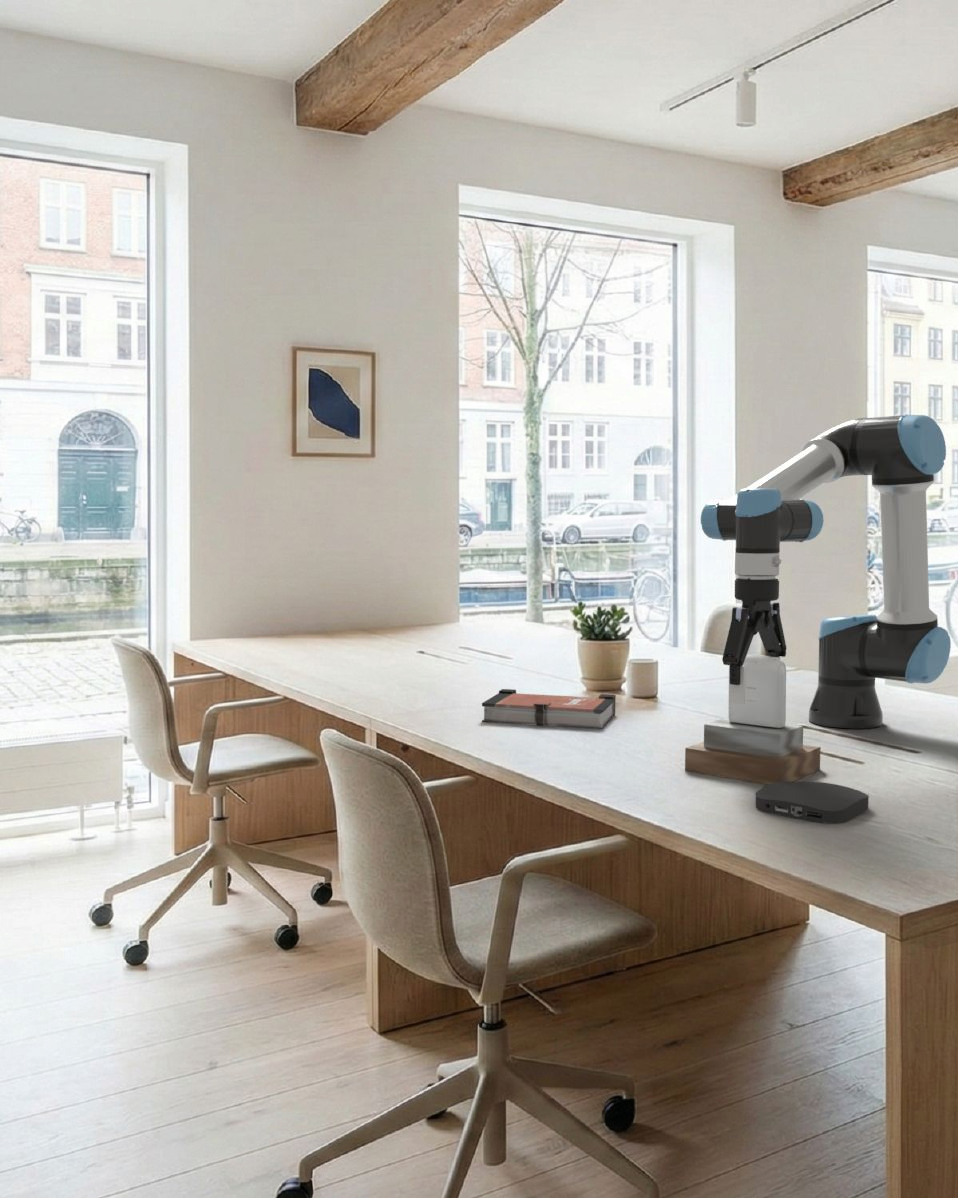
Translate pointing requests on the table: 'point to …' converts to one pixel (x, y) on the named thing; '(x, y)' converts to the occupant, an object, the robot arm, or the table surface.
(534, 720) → the book
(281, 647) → the table surface
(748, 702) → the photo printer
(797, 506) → the robot arm
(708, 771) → the grey block on wood
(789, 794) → the media streaming box
